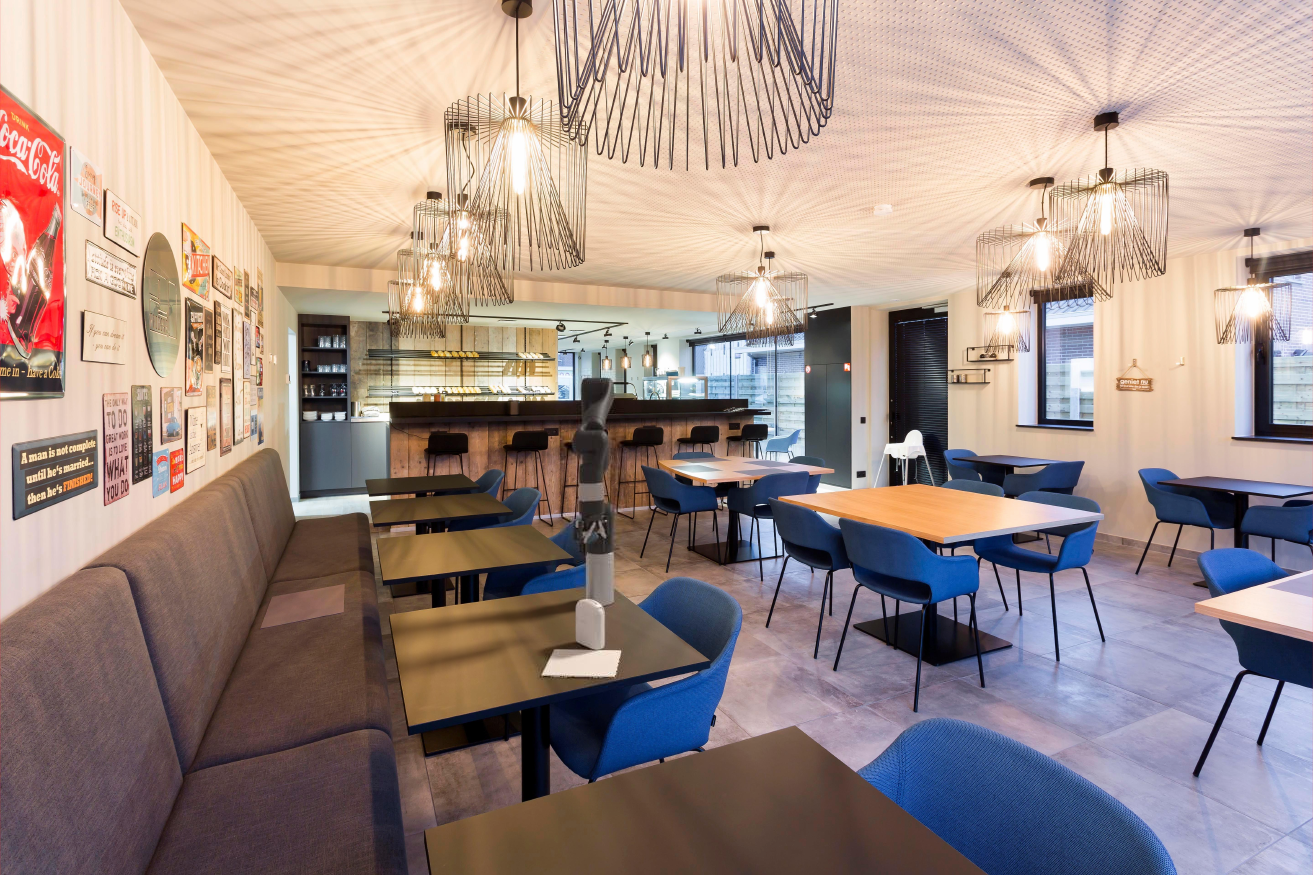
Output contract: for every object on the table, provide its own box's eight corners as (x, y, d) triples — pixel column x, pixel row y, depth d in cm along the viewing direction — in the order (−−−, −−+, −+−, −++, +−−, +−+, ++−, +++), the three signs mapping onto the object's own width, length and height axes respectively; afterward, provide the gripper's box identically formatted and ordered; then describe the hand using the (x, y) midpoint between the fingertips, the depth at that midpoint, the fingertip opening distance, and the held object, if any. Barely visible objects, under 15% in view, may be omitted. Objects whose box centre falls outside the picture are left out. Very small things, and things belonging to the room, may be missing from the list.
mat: (554, 650, 170) (554, 649, 170) (621, 652, 169) (621, 650, 169) (541, 676, 154) (541, 674, 154) (615, 678, 153) (615, 676, 153)
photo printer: (573, 641, 176) (573, 597, 176) (586, 638, 179) (586, 595, 179) (593, 651, 168) (594, 605, 168) (607, 648, 171) (607, 602, 171)
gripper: (596, 495, 194) (596, 548, 194) (565, 500, 182) (566, 556, 182) (615, 496, 190) (616, 550, 190) (586, 501, 178) (587, 558, 178)
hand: (592, 553), depth 186 cm, fingers open, 8 cm apart
